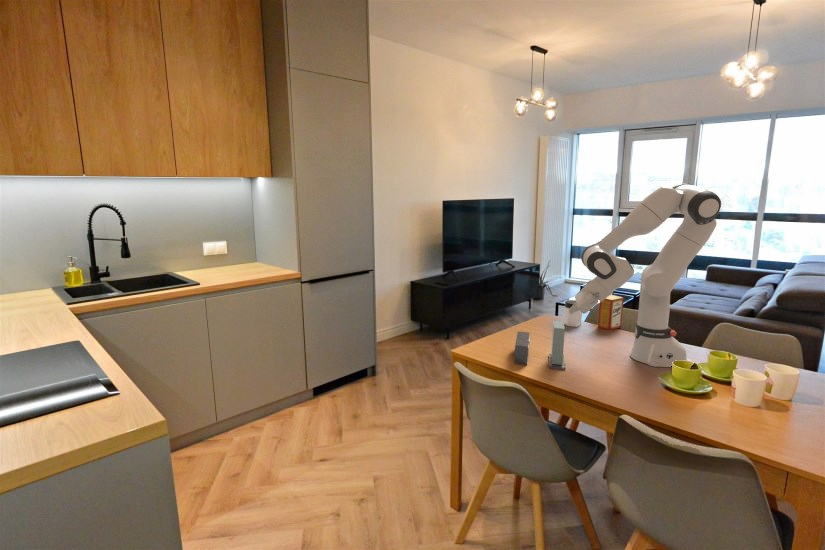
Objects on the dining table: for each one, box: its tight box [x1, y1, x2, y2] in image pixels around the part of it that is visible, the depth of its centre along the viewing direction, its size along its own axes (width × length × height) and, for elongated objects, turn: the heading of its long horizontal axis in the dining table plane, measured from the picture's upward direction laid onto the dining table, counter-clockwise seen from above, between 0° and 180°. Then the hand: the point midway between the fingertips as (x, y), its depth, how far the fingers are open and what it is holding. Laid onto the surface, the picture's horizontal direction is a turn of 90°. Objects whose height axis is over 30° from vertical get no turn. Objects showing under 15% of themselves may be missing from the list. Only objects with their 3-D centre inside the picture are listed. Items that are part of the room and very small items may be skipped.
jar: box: [562, 299, 583, 328], centre depth 228 cm, size 9×8×12 cm
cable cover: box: [551, 320, 566, 365], centre depth 178 cm, size 4×10×15 cm, turn 164°
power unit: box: [514, 331, 531, 366], centre depth 186 cm, size 5×18×8 cm, turn 164°
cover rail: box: [548, 353, 566, 371], centre depth 180 cm, size 6×14×1 cm, turn 164°
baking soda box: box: [597, 294, 624, 331], centre depth 222 cm, size 10×6×16 cm
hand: (569, 312), depth 182 cm, fingers closed
